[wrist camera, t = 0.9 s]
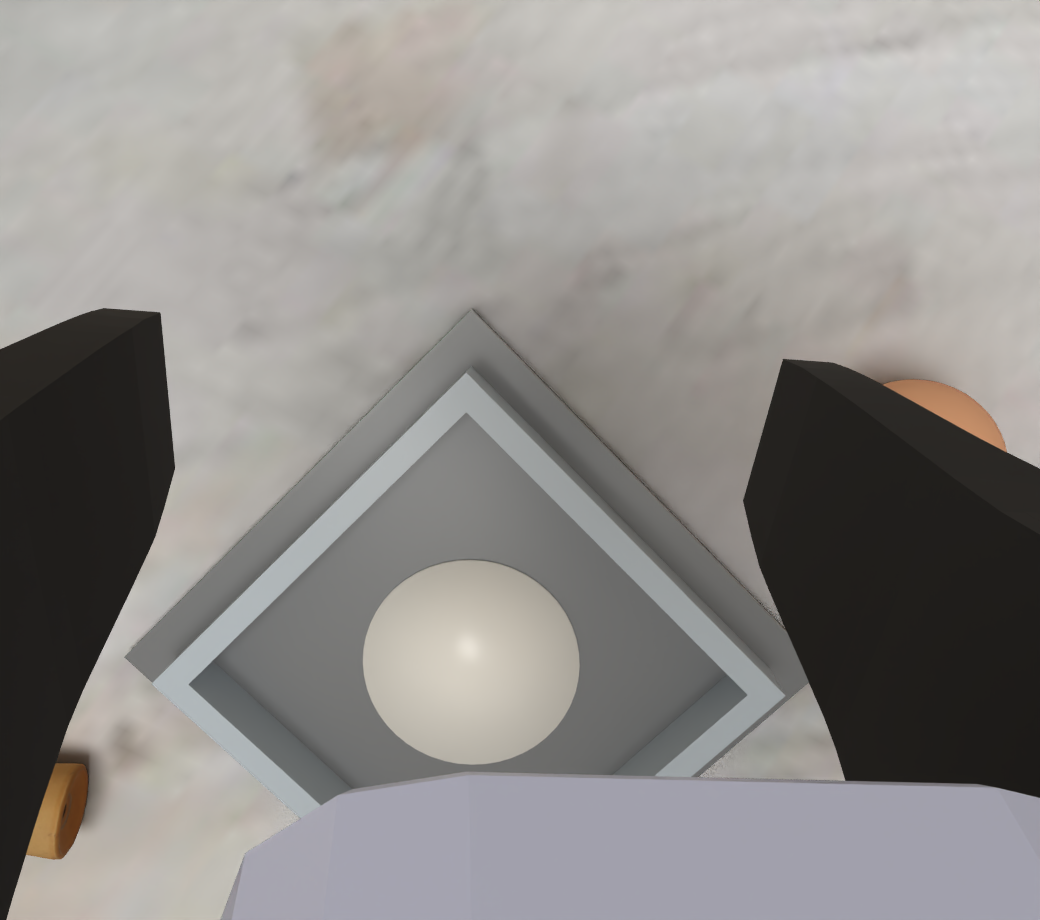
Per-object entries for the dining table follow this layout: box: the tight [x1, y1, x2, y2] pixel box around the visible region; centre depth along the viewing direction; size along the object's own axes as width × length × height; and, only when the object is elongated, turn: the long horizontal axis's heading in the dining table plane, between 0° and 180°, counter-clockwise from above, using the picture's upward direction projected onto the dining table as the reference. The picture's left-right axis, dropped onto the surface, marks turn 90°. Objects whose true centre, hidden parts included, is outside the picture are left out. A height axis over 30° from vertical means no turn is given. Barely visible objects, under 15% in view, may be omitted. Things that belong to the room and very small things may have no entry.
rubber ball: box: [882, 379, 1007, 452], centre depth 27 cm, size 5×5×5 cm
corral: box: [125, 309, 809, 818], centre depth 30 cm, size 16×16×2 cm
